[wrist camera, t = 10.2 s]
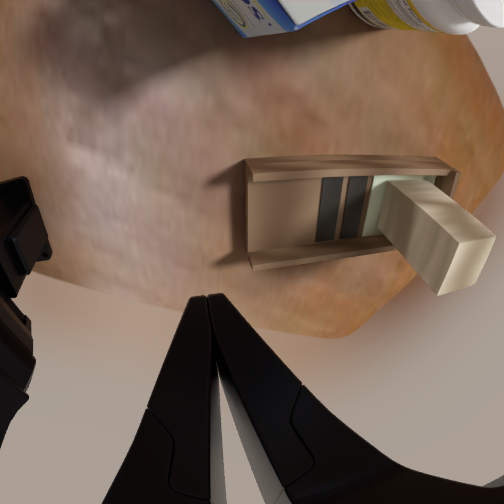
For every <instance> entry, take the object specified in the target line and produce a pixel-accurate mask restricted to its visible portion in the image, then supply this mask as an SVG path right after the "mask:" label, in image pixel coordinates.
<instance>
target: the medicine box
mask: <svg viewBox="0 0 504 504" xmlns="http://www.w3.org/2000/svg"><path fill="white" fill-rule="evenodd" d="M212 1H213V2H214V4H215V5H216V6H217V7H218V8H219V9H220V11H221V12H222V13H223V14H224V15H225V16H226V18H227V19H228V20H229V21H230V22H231V24H232V25H233V26H234V27H235V29H236V30H237V31H238V32H239V33H240V35H241V36H242V37H243V38H250V37H256V36H263V35H270V34H278V33H285V32H293V31H297V30H299V29H300V28H302V27H303V26H305V25H307V24H309V23H311V22H313V21H315V20H317V19H318V18H320V17H322V16H324V15H326V14H328V13H330V12H332V11H334V10H337V9H339V8H341V7H343V6H345V5H347V4H349V3H352V2H354V1H356V0H212Z"/></svg>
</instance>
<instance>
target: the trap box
mask: <svg viewBox="0 0 504 504" xmlns="http://www.w3.org/2000/svg"><path fill="white" fill-rule="evenodd" d="M459 176H460V172H458V171H457V170H455V169H454V168H452V167H451V166H449V165H448V164H446V163H445V162H443V161H441V160H440V159H438V158H436V157H417V156H391V155H315V156H287V157H268V158H252V159H245V250H246V253H247V256H248V259H249V262H250V265H251V268H252V271H257V270H265V269H272V268H279V267H286V266H293V265H300V264H307V263H314V262H321V261H328V260H335V259H341V258H348V257H355V256H361V255H368V254H374V253H381V252H387V251H394V250H397V248H396V247H395V246H394V245H393V244H392V243H391V242H390V241H389V239H388V238H387V237H386V236H385V235H384V234H383V233H382V232H381V231H380V230H379V229H378V227H377V226H378V222H379V218H380V213H381V209H382V204H383V200H384V195H385V190H386V186H387V181H388V180H427V181H429V182H430V183H431V184H433V185H434V186H436V187H437V188H438V189H440V190H441V191H442V192H443V193H445V194H446V195H447V196H449V197H450V198H451V199H453V197H454V194H455V190H456V187H457V183H458V180H459Z"/></svg>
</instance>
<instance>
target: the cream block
mask: <svg viewBox="0 0 504 504" xmlns="http://www.w3.org/2000/svg"><path fill="white" fill-rule="evenodd" d="M377 227H378V229H379V230H380V231H381V232H382V233H383V234H384V235H385V236H386V237H387V238H388V239H389V241H390V242H391V243H392V244H393V245H394V246H395V247H396V248H397V250H398V251H399V252H400V253H401V254H402V255H403V256H404V258H405V259H406V260H407V261H408V262H409V263H410V265H411V266H412V267H413V268H414V269H415V270H416V272H417V273H418V274H419V275H420V276H421V278H422V279H423V280H424V281H425V282H426V284H427V285H428V286H429V287H430V289H431V290H432V291H433V292H434V293H435V295H436V296H438V295H442V294H445V293H449V292H452V291H455V290H458V289H462V288H465V287H468V286H471V285H474V284H475V282H476V280H477V278H478V276H479V274H480V272H481V270H482V268H483V266H484V264H485V261H486V259H487V257H488V255H489V253H490V250H491V248H492V246H493V243H494V241H495V239H496V236H495V235H494V234H493V233H492V232H491V231H490V230H488V228H486V227H485V226H484V225H483V224H482V223H481V222H479V221H478V220H477V219H476V218H475V217H474V216H472V215H471V214H470V213H469V212H468V211H466V210H465V209H464V208H463V207H461V206H460V205H459V204H458V203H456V202H455V201H454V200H453V199H451V198H450V197H449V196H447V195H446V194H445V193H443V192H442V191H441V190H440V189H438V188H437V187H436V186H434V185H433V184H431V183H430V182H429V181H427V180H388V181H387V186H386V190H385V195H384V200H383V204H382V209H381V213H380V218H379V222H378V226H377Z"/></svg>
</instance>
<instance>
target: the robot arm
mask: <svg viewBox="0 0 504 504" xmlns="http://www.w3.org/2000/svg"><path fill="white" fill-rule="evenodd" d="M20 182H22V183H23V184H24V187H22V186H21V184H20ZM44 252H46V253H47V254H45V253H44ZM51 256H52V249H51V246H50V244H49V241H48V234H47V231H46V228H45V226H44V223H43V220H42V217H41V214H40V211H39V208H38V206H37V205H36V203H35V200H34V197H33V193H32V190H31V187H30V183H29V180H28V179H27V178H26V177H24V176H21V177H17V178H13V179H10V180H6V181H2V182H0V448H1V445H2V442H3V439H4V436H5V434H6V431H7V429H8V426H9V424H10V422H11V420H12V419H13V417H14V416H15V414H16V413H17V411H18V410H19V409H20V408H21V407H22V406H23V405H24V404H25V403H26V402H27V401H28V399H29V395H28V394H27V393H25V392H26V390H27V388H28V387H29V384H30V382H31V378H32V375H33V372H34V368H35V365H36V359H35V357H34V356H33V339H32V336H31V320H30V319H29V318H28V317H27V316H26V315H24V314H23V313H22V312H21V311H20V310H19V308H18V307H17V306H16V305H15V303H14V302H13V301H12V300H11V298H16V297H17V295H18V292H19V290H20V288H21V285H22V283H23V281H24V279H25V277H26V275H29V274H30V273H31V271H32V269H33V266H34V264H35V262H38V261H45V260H49V259H50V258H51ZM217 368H218V369H217ZM218 372H219V377H220V380H221V384H222V386H223V389H224V393H225V396H226V399H227V401H228V405H229V408H230V411H231V413H232V416H233V419H234V422H235V425H236V428H237V431H238V433H239V436H240V439H241V442H242V444H243V447H244V450H245V453H246V455H247V458H248V461H249V463H250V466H251V469H252V471H253V474H254V476H255V479H256V482H257V484H258V487H259V489H260V492H261V494H262V496H263V499H264V502H265V504H504V475H503V476H501V477H500V478H498V479H496V480H494V481H492V482H490V483H488V484H486V485H484V486H482V487H481V486H476V485H471V484H466V483H461V482H457V481H452V480H448V479H444V478H440V477H436V476H433V475H429V474H425V473H422V472H418V471H415V470H412V469H409V468H407V467H404V466H402V465H400V464H398V463H396V462H395V461H393V460H391V459H390V458H389V457H387V456H386V455H384V454H383V453H381V452H380V451H379V450H378V449H376V448H375V447H374V446H372V445H371V444H370V443H368V442H367V441H366V440H364V439H363V438H362V437H361V436H359V435H358V434H357V433H356V432H354V431H353V430H352V429H350V428H349V427H348V426H347V425H345V424H344V423H343V422H342V421H341V420H339V419H338V418H337V417H336V416H335V415H334V414H332V413H331V412H330V411H329V410H328V409H327V408H326V407H325V406H324V405H323V404H322V403H321V402H320V401H319V400H318V399H317V398H316V397H315V396H314V395H313V394H312V393H311V392H310V391H309V390H308V389H307V388H306V387H305V385H302V382H301V381H300V380H299V379H298V378H297V377H296V376H295V375H294V374H293V372H292V371H291V370H290V369H289V368H288V367H287V366H286V365H285V364H284V363H283V362H282V360H281V359H280V358H279V357H278V356H277V355H276V354H275V352H274V351H273V350H272V349H271V348H270V347H269V346H268V345H267V344H266V343H265V341H264V340H263V339H262V338H261V337H260V336H259V334H258V333H257V332H256V331H255V330H254V329H253V328H252V326H251V325H250V324H249V323H248V322H247V321H246V319H245V318H244V317H243V316H242V315H241V314H240V312H239V311H238V310H237V309H236V308H235V307H234V305H233V304H232V303H231V302H230V301H229V300H228V298H227V297H226V296H225V295H224V294H223V293H217V294H209V295H208V296H207V298H206V296H205V295H201V296H194V297H191V298H190V299H189V300H188V303H187V305H186V308H185V310H184V313H183V315H182V318H181V320H180V322H179V325H178V328H177V330H176V332H175V335H174V337H173V340H172V342H171V345H170V348H169V350H168V352H167V355H166V357H165V360H164V363H163V365H162V368H161V370H160V373H159V375H158V378H157V381H156V384H155V386H154V389H153V391H152V394H151V396H150V399H149V402H148V404H147V407H148V409H146V410H145V413H144V415H143V418H142V420H141V423H140V425H139V428H138V430H137V433H136V435H135V438H134V441H133V443H132V445H131V447H130V449H129V451H128V453H127V455H126V457H125V459H124V461H123V463H122V465H121V467H120V469H119V471H118V473H117V475H116V477H115V479H114V481H113V483H112V485H111V487H110V488H109V490H108V492H107V494H106V497H105V498H104V500H103V502H102V504H227V502H226V491H225V477H224V463H223V448H222V432H221V414H220V394H219V377H218Z"/></svg>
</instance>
